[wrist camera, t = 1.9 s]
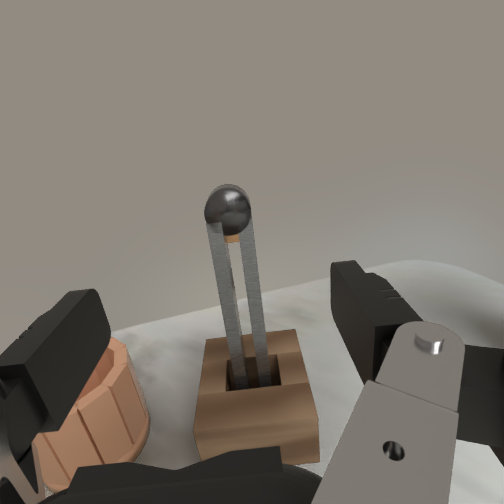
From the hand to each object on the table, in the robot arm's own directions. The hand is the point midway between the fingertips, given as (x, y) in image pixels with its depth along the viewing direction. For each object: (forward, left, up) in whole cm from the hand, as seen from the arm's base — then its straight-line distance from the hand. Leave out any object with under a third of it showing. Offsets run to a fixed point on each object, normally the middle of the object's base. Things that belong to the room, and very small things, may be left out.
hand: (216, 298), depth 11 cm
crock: (+10, -15, -20) cm, 26 cm away
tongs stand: (-4, -11, -19) cm, 23 cm away
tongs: (-4, -11, -20) cm, 23 cm away
